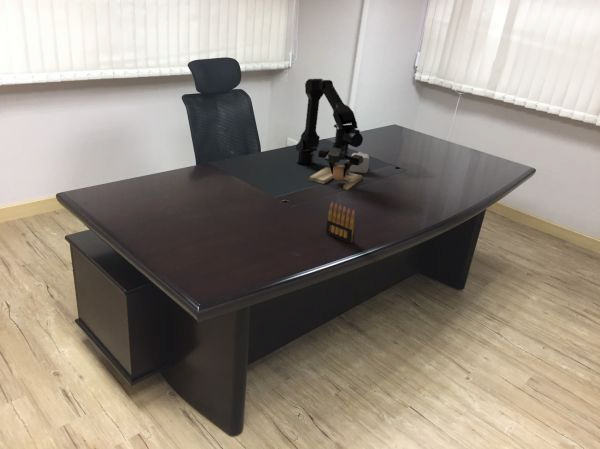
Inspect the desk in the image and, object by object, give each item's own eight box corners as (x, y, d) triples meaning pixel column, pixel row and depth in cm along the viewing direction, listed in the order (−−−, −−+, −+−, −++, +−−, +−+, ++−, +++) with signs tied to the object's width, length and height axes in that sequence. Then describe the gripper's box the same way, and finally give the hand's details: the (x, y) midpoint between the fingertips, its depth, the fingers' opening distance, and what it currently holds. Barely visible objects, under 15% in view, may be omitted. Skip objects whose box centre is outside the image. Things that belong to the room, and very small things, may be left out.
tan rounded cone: (335, 174, 217) (336, 164, 215) (345, 177, 215) (347, 166, 213) (330, 178, 213) (331, 167, 211) (341, 180, 211) (342, 169, 209)
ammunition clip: (325, 233, 172) (328, 201, 167) (328, 231, 173) (331, 199, 168) (350, 243, 166) (354, 211, 160) (353, 242, 167) (357, 209, 162)
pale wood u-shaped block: (309, 180, 216) (310, 167, 214) (325, 170, 229) (326, 157, 227) (347, 189, 209) (348, 176, 206) (361, 178, 222) (363, 166, 219)
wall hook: (367, 164, 238) (369, 146, 232) (367, 176, 230) (369, 158, 224) (350, 163, 239) (352, 144, 232) (349, 175, 231) (351, 156, 225)
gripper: (313, 140, 204) (310, 176, 211) (355, 149, 197) (351, 186, 204) (325, 134, 213) (322, 169, 220) (365, 142, 206) (361, 178, 213)
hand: (338, 175), depth 214 cm, fingers closed on tan rounded cone, 5 cm apart
